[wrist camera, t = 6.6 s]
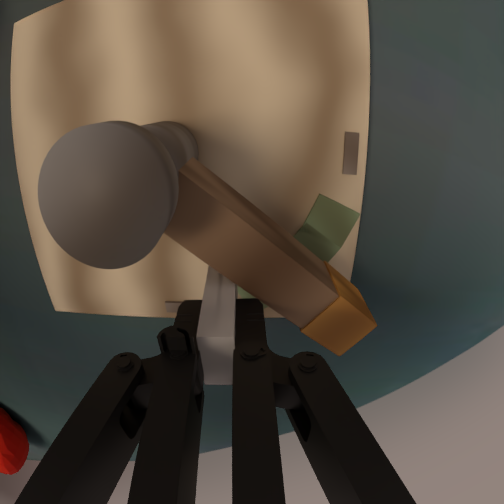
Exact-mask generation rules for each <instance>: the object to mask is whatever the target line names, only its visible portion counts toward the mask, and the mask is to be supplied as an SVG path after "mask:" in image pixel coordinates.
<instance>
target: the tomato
mask: <svg viewBox="0 0 504 504" xmlns="http://www.w3.org/2000/svg"><path fill="white" fill-rule="evenodd" d="M28 452H29V443H28V440H27V436H26V433H25V431H24V429H23V428H22V427H21V425H20V424H18V423H17V422H16V421H14V420H12V418H11V417H10V415H9V414H8V413H7V412H6V411H5V410H4V409H3V408H0V472H1V473H4V474H10V475H12V474H14V473H16V472H18V471H19V470H20V469H21V467H22V466H23V465H24V462H25V461H26V459H27V455H28Z"/></svg>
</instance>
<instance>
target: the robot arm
mask: <svg viewBox="0 0 504 504" xmlns="http://www.w3.org/2000/svg"><path fill="white" fill-rule="evenodd" d="M157 339H158V343H159V346H160V350H161V354H160V355H158V356H155V357H152V358H147V359H142V360H141V359H140V358H139V356H138V355H136V354H134V353H129V352H125V353H120V354H118V355H116V356H114V357H113V358H112V359H111V360H110V362H109V363H108V364H107V366H106V367H105V368H104V370H103V371H102V373H101V374H100V375H99V377H98V378H97V380H96V381H95V382H94V384H93V385H92V387H91V388H90V389H89V391H88V392H87V394H86V395H85V396H84V398H83V399H82V401H81V402H80V404H79V405H78V406H77V408H76V409H75V411H74V412H73V414H72V415H71V417H70V418H69V419H68V421H67V422H66V424H65V425H64V427H63V428H62V430H61V431H60V433H59V434H58V436H57V437H56V439H55V440H54V442H53V443H52V445H51V446H50V448H49V449H48V451H47V452H46V454H45V455H44V457H43V459H42V460H41V462H40V463H39V465H38V466H37V468H36V469H35V471H34V473H33V474H32V476H31V477H30V479H29V481H28V482H27V484H26V485H25V487H24V489H23V490H22V492H21V494H20V495H19V497H18V499H17V500H16V502H15V504H107V502H108V501H109V499H110V496H111V495H112V493H113V491H114V489H115V487H116V485H117V483H118V481H119V479H120V477H121V475H122V473H123V471H124V469H125V467H126V466H127V464H128V462H129V460H130V458H131V456H132V454H133V452H134V450H135V448H136V446H137V444H138V443H139V447H138V451H137V456H136V461H135V466H134V471H133V476H132V481H131V487H130V493H129V498H128V503H127V504H195V496H196V483H197V470H198V458H199V446H200V435H201V424H202V413H203V403H204V391H203V381H204V383H205V385H233V393H232V496H233V497H232V504H286V503H285V494H284V483H283V474H282V464H281V454H280V446H279V435H278V426H277V416H276V407H280V408H285V410H286V413H287V415H288V417H289V419H290V421H291V424H292V426H293V428H294V430H295V432H296V434H297V436H298V439H299V441H300V443H301V445H302V447H303V449H304V451H305V454H306V456H307V458H308V460H309V462H310V464H311V466H312V468H313V470H314V472H315V474H316V476H317V479H318V481H319V482H320V485H321V487H322V489H323V491H324V493H325V495H326V497H327V499H328V501H329V503H330V504H416V503H415V501H414V499H413V498H412V496H411V495H410V493H409V491H408V490H407V488H406V487H405V485H404V484H403V482H402V480H401V479H400V477H399V476H398V474H397V473H396V471H395V469H394V468H393V466H392V465H391V463H390V461H389V460H388V458H387V457H386V455H385V454H384V452H383V451H382V449H381V448H380V446H379V444H378V443H377V441H376V440H375V438H374V436H373V435H372V433H371V432H370V430H369V428H368V427H367V425H366V424H365V422H364V421H363V419H362V418H361V416H360V414H359V413H358V411H357V410H356V408H355V406H354V405H353V403H352V402H351V400H350V399H349V397H348V395H347V394H346V392H345V391H344V389H343V388H342V386H341V384H340V383H339V381H338V380H337V378H336V377H335V375H334V374H333V372H332V370H331V369H330V367H329V366H328V364H327V363H326V361H325V360H324V359H323V358H322V357H321V356H320V355H318V354H316V353H314V352H300V353H298V354H296V355H294V356H293V357H292V358H286V357H282V356H279V355H277V354H275V353H273V352H272V351H271V350H270V349H269V348H268V345H267V340H266V330H265V321H264V310H263V304H262V303H261V302H260V300H259V299H258V298H243V299H238V286H237V285H236V284H235V283H233V282H232V281H230V280H229V279H228V278H226V277H225V276H223V275H222V274H220V273H219V272H218V271H216V270H215V269H213V268H212V267H210V266H208V272H207V277H206V283H205V288H204V294H203V300H184V301H183V302H182V303H181V305H180V306H179V307H178V311H177V316H176V318H175V322H174V326H169V327H167V328H164V329H163V330H162V331H160V332H159V334H158V336H157ZM275 406H276V407H275ZM139 441H140V442H139Z"/></svg>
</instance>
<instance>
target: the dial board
mask: <svg viewBox="0 0 504 504" xmlns="http://www.w3.org/2000/svg"><path fill="white" fill-rule="evenodd" d="M369 102H370V40H369V17H368V2H367V0H65V1H62V2H59V3H57V4H55V5H52V6H50V7H47V8H45V9H43V10H41V11H38V12H36V13H34V14H32V15H30V16H28V17H26V18H24V19H22V20H20V21H18V22H16V23H14V30H13V40H12V55H11V114H12V129H13V140H14V149H15V157H16V165H17V171H18V178H19V184H20V189H21V195H22V200H23V204H24V209H25V214H26V218H27V222H28V226H29V230H30V234H31V238H32V242H33V245H34V249H35V252H36V256H37V259H38V262H39V266H40V269H41V272H42V275H43V278H44V281H45V284H46V287H47V290H48V292H49V295H50V298H51V301H52V303H53V306H54V308H55V311H64V312H76V313H89V314H103V315H120V316H141V317H169V318H176V316H177V311H178V307H179V306H180V305H181V303H182V302H183V301H184V300H203V294H204V288H205V283H206V277H207V272H208V266H209V265H208V264H206V263H205V262H203V261H202V260H201V259H199V258H198V257H196V256H195V255H194V254H192V253H191V252H189V251H188V250H187V249H185V248H184V247H182V246H181V245H180V244H178V243H177V242H176V241H174V240H173V239H171V238H170V237H169V236H167V235H166V234H165V233H163V235H162V236H161V238H160V240H159V241H158V243H157V244H156V246H155V247H154V248H153V250H152V251H151V252H150V253H149V254H148V255H147V256H145V257H144V258H143V259H141V260H140V261H138V262H137V263H135V264H133V265H130V266H127V267H124V268H119V269H100V268H95V267H91V266H89V265H86V264H83V263H81V262H80V261H78V260H76V259H74V258H73V257H71V256H70V255H69V254H67V253H66V252H65V251H64V250H63V249H62V248H61V247H60V246H59V245H58V244H57V243H56V241H55V240H54V239H53V237H52V236H51V234H50V233H49V231H48V229H47V227H46V225H45V223H44V221H43V218H42V215H41V212H40V207H39V202H38V180H39V174H40V170H41V167H42V164H43V161H44V159H45V157H46V155H47V153H48V152H49V150H50V149H51V148H52V146H53V145H54V144H55V143H56V142H57V141H58V140H59V139H60V138H61V137H62V136H63V135H65V134H66V133H68V132H70V131H71V130H73V129H75V128H78V127H81V126H85V125H90V124H95V123H100V122H106V121H127V122H131V123H134V124H137V125H139V126H141V125H146V124H151V123H156V122H161V121H172V122H176V123H179V124H181V125H183V126H185V127H186V128H187V129H188V130H189V131H190V132H191V133H192V134H193V136H194V137H195V139H196V142H197V145H198V152H199V155H198V161H199V162H200V163H201V164H203V165H204V166H205V167H206V168H208V169H209V170H210V171H212V172H213V173H214V174H216V175H217V176H218V177H219V178H221V179H222V180H223V181H224V182H226V183H227V184H228V185H230V186H231V187H232V188H233V189H235V190H236V191H237V192H238V193H240V194H241V195H242V196H244V197H245V198H246V199H247V200H249V201H250V202H251V203H252V204H254V205H255V206H256V207H257V208H259V209H260V210H261V211H262V212H263V213H265V214H266V215H267V216H268V217H270V218H271V219H272V220H273V221H275V222H276V223H277V224H278V225H280V226H281V227H282V228H283V229H284V230H286V231H287V232H288V233H289V234H290V235H292V236H293V237H294V238H295V239H297V240H298V241H299V242H300V243H301V244H303V245H304V246H305V247H306V248H307V249H309V250H310V251H311V252H312V253H313V254H315V255H316V256H317V257H318V258H319V259H320V260H322V261H323V262H324V261H326V262H327V263H329V264H330V265H331V266H332V267H333V268H334V269H336V270H337V271H338V272H339V273H340V274H341V275H343V276H344V277H345V278H346V279H347V280H348V281H349V282H350V281H351V275H352V269H353V263H354V257H355V251H356V244H357V237H358V230H359V223H360V215H361V207H362V199H363V189H364V179H365V169H366V157H367V143H368V126H369ZM237 286H238V285H237ZM243 298H255V297H254V296H252V295H251V294H249V293H248V292H246V291H245V290H243V289H242V288H241V287H239V286H238V299H243ZM260 302H261V301H260ZM261 303H262V302H261ZM262 304H263V310H264V318H276V317H283V316H282V315H280V314H279V313H277V312H276V311H274V310H273V309H271V308H270V307H268V306H267V305H265V304H264V303H262Z"/></svg>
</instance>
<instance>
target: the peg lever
mask: <svg viewBox="0 0 504 504" xmlns="http://www.w3.org/2000/svg"><path fill="white" fill-rule="evenodd" d="M198 155H199V152H198V145H197V142H196V139H195V137H194V136H193V134H192V133H191V132H190V131H189V130H188V129H187V128H186V127H185V126H183V125H181V124H179V123H176V122H172V121H161V122H156V123H151V124H146V125H141V126H139V125H137V124H134V123H131V122H127V121H106V122H100V123H95V124H90V125H85V126H81V127H78V128H75V129H73V130H71V131H70V132H68V133H66V134H65V135H63V136H62V137H61V138H60V139H59V140H58V141H57V142H56V143H55V144H54V145H53V146H52V148H51V149H50V150H49V152H48V153H47V155H46V157H45V159H44V161H43V164H42V167H41V170H40V174H39V180H38V202H39V207H40V212H41V215H42V218H43V221H44V223H45V225H46V227H47V229H48V231H49V233H50V234H51V236H52V237H53V239H54V240H55V241H56V243H57V244H58V245H59V246H60V247H61V248H62V249H63V250H64V251H65V252H66V253H67V254H69V255H70V256H71V257H73V258H74V259H76V260H78V261H80V262H81V263H83V264H86V265H89V266H91V267H95V268H100V269H119V268H124V267H127V266H130V265H133V264H135V263H137V262H138V261H140V260H141V259H143V258H144V257H145V256H147V255H148V254H149V253H150V252H151V251H152V250H153V248H154V247H155V246H156V244H157V243H158V241H159V240H160V238H161V236H162V235H163V233H165V234H166V235H167V236H169V237H170V238H171V239H173V240H174V241H176V242H177V243H178V244H180V245H181V246H182V247H184V248H185V249H187V250H188V251H189V252H191V253H192V254H194V255H195V256H196V257H198V258H199V259H201V260H202V261H203V262H205V263H206V264H208V265H209V266H210V267H212V268H213V269H215V270H216V271H218V272H219V273H220V274H222V275H223V276H225V277H226V278H228V279H229V280H230V281H232V282H233V283H235V284H236V285H238V286H239V287H241V288H242V289H243V290H245V291H246V292H248V293H249V294H251V295H252V296H254V297H255V298H258V299H259V300H260V301H261V302H262V303H264V304H265V305H267V306H268V307H270V308H271V309H273V310H274V311H276V312H277V313H279V314H280V315H282V316H283V317H285V318H286V319H288V320H289V321H291V322H292V323H294V324H295V325H297V326H298V327H300V331H301V332H302V333H304V334H305V335H307V336H308V337H310V338H311V339H313V340H314V341H316V342H318V343H319V344H321V345H322V346H324V347H325V348H327V349H328V350H330V351H332V352H333V353H335V354H336V355H338V356H341V355H342V354H343V353H345V352H346V351H347V350H348V349H350V348H351V347H352V346H354V345H355V344H356V343H357V342H358V341H360V340H361V339H362V338H363V337H365V336H366V335H367V334H368V333H369V332H371V331H372V330H373V329H374V328H375V327H377V324H376V322H375V320H374V318H373V316H372V314H371V312H370V310H369V309H368V307H367V305H366V303H365V301H364V299H363V297H362V295H361V294H360V292H359V290H358V289H357V288H356V287H355V286H354V285H353V284H352V283H351V282H349V281H348V280H347V279H346V278H345V277H344V276H343V275H341V274H340V273H339V272H338V271H337V270H336V269H334V268H333V267H332V266H331V265H330V264H329V263H327V262H326V261H324V262H323V261H322V260H320V259H319V258H318V257H317V256H316V255H315V254H313V253H312V252H311V251H310V250H309V249H307V248H306V247H305V246H304V245H303V244H301V243H300V242H299V241H298V240H297V239H295V238H294V237H293V236H292V235H290V234H289V233H288V232H287V231H286V230H284V229H283V228H282V227H281V226H280V225H278V224H277V223H276V222H275V221H273V220H272V219H271V218H270V217H268V216H267V215H266V214H265V213H263V212H262V211H261V210H260V209H259V208H257V207H256V206H255V205H254V204H252V203H251V202H250V201H249V200H247V199H246V198H245V197H244V196H242V195H241V194H240V193H238V192H237V191H236V190H235V189H233V188H232V187H231V186H230V185H228V184H227V183H226V182H224V181H223V180H222V179H221V178H219V177H218V176H217V175H216V174H214V173H213V172H212V171H210V170H209V169H208V168H206V167H205V166H204V165H203V164H201V163H200V162H199V161H198Z"/></svg>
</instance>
